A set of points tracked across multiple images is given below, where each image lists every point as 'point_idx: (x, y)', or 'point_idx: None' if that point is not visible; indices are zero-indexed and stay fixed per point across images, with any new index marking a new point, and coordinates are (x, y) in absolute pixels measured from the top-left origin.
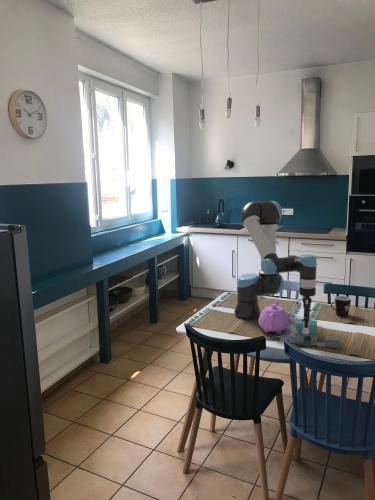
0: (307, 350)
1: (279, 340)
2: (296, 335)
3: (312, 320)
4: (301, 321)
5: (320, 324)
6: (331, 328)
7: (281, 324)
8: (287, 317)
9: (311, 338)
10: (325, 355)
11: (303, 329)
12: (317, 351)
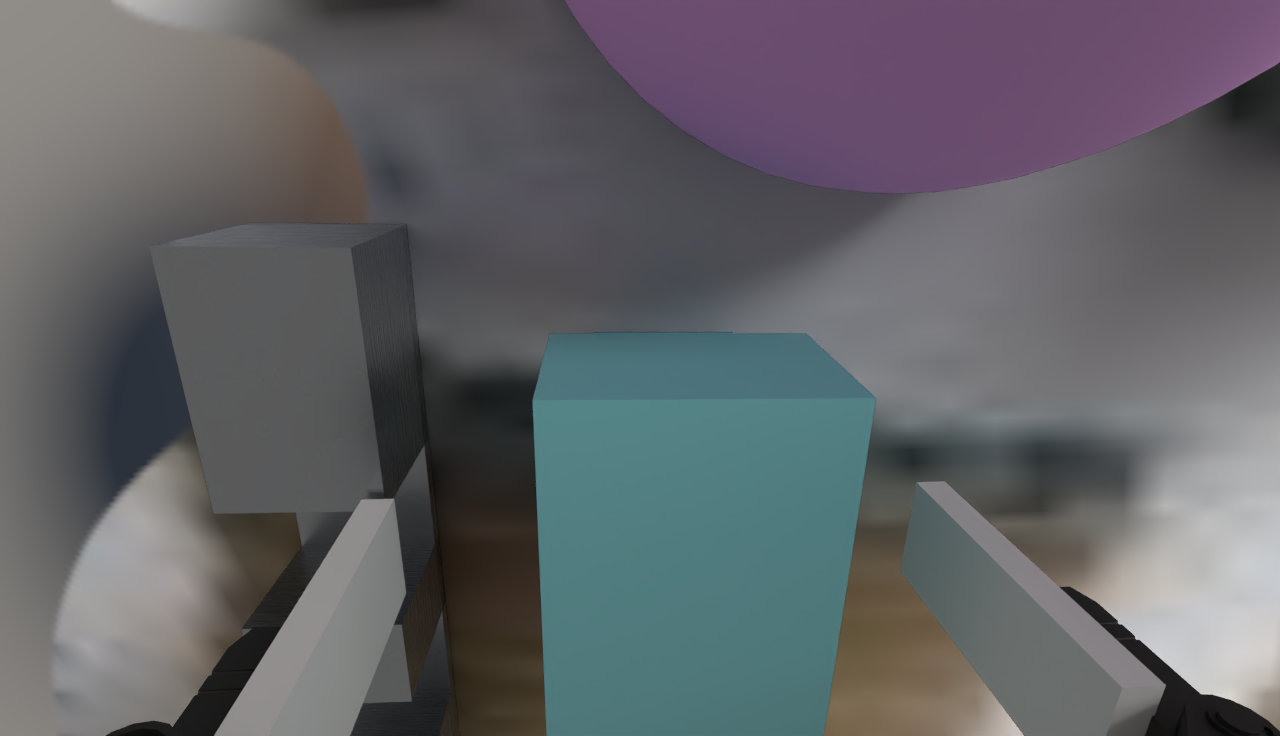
0: (122, 500)
1: (323, 15)
2: (234, 384)
3: (814, 732)
4: (697, 535)
5: (1154, 617)
6: (1008, 732)
7: None
8: (926, 146)
9: (249, 623)
10: (84, 698)
11: (325, 562)
12: (160, 615)
